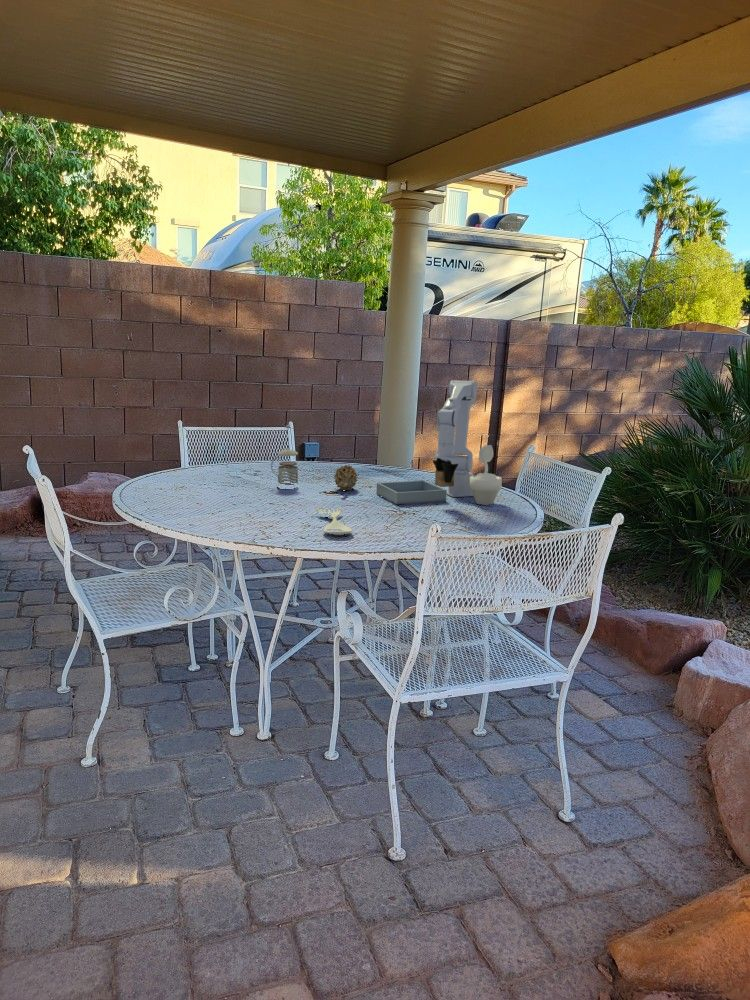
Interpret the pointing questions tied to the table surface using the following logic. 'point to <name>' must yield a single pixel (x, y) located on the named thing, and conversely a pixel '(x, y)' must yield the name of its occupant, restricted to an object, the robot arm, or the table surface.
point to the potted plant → (485, 479)
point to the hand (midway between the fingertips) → (444, 480)
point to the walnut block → (442, 479)
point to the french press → (287, 467)
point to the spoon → (335, 522)
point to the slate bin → (411, 492)
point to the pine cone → (345, 477)
